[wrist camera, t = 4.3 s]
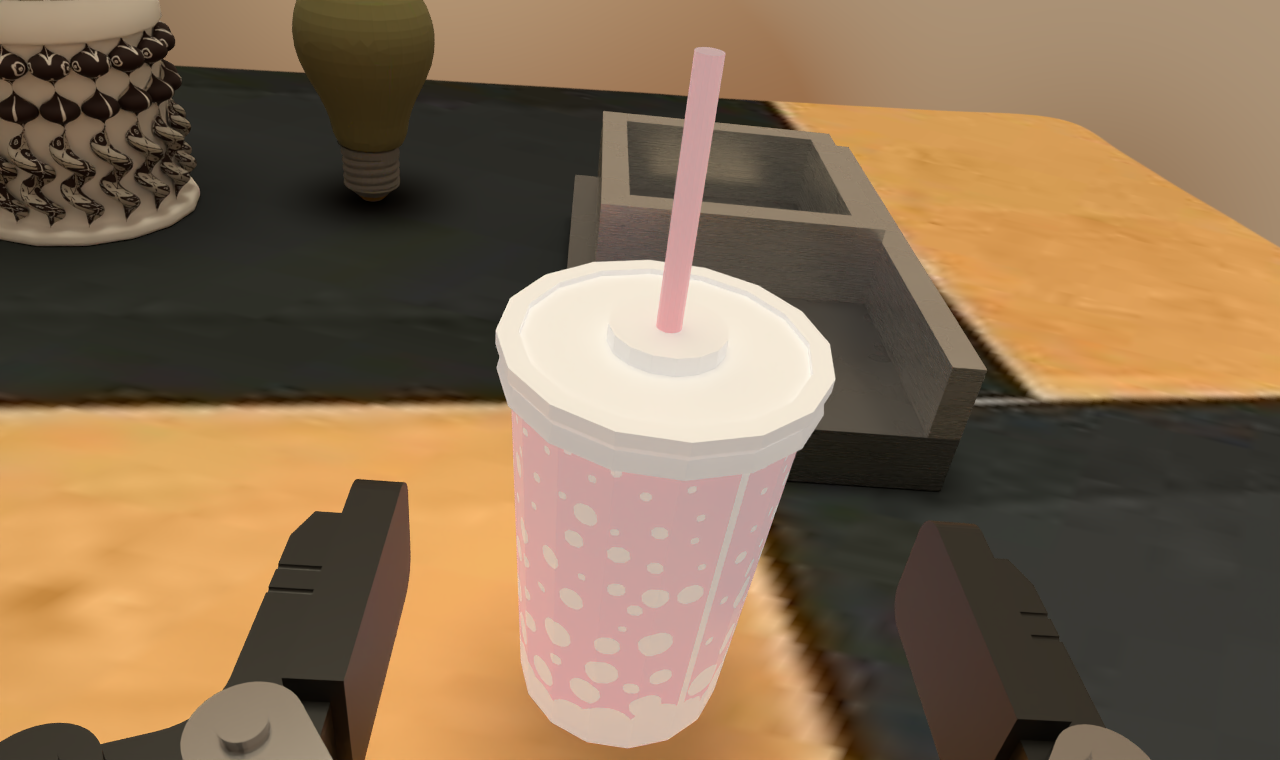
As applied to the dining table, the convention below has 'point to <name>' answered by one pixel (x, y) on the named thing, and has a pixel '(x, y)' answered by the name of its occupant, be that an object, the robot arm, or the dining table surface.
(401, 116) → the light bulb
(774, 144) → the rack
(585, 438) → the beverage cup
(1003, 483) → the dining table surface
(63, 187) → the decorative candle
